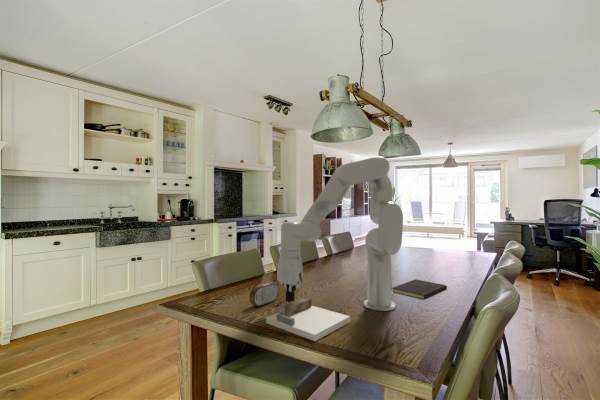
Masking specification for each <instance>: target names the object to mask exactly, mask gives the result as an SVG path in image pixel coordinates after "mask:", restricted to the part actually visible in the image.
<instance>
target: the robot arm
mask: <svg viewBox="0 0 600 400" xmlns="http://www.w3.org/2000/svg"><path fill="white" fill-rule="evenodd" d="M389 172H390V163H389V161H388V159H387V158H385V157H384V156H379V155H377V156H372V157H369V158H364V159H362V160H357V161H352V162H347V163H345V164H341V165H339V166H338V167H337V168H336V169H335V170H334V172H333V173H332V175H331V177H330V178H329V180H327V183H326V184H325V186H324V188H323V189H322V191H321V192H320V193H319V195H318V196H317V198H316V199H315V201H314V202H313V204H312V205H311V206H310V208H309V209H308V210H307V212H306V213H305V214H304V216H303V218H302V219H301V221H300V222H297V221H285V222H282V223H281V225H280V250H279V252H280V256H279V258H278V261H277V270H276V271H277V272H276V279H277V281H278V282H279V284H281V285H282V286H283V288H284V291H285V302H288V303H292V302H294V301H295V292H296V290H297V289H301V288H302V287H303V285H302V283H303V281H304V278H303V277H304V272H303V271H304V270H303V261H302V258H301V241H305V242H316V241H317V240H318V239H320V238H321V236H322V228H321V223H322V222H323V220H324V219H325V218H326V217H327V216H328V215H329V214H331V212H333V211H335V210H336V209H337V208H338V207H339V206H340V203H341V202H342V200H343V199H344V197H345V196H346V194H347V192H348V191H349V190H350V187H351V186H355V185H358V184H364V183H368V185H369V187H370V203H369V204H370V206H369V217H370V220H371V222H372V223H374V224H376V225H377V226H378V227H375V228H372V229H370V230H369V231H368V232H367V234H366V236H365V250H366V258H367V261H366V262H367V263H366V264H367V268H366V269H367V272H366V273H367V276H366V277H367V279H366V280H367V299H365V300H364V301H363V306H364V307H365V308H367V309H369V310H373V311H376V312H377V311H378V312H388V311H393V310H394V309H396V305H397V304H396V302H394V301H393V300H392V298H393V297H395V292H393V291H392V290H393V289H392V288H393V287H392V279H393V278H392V257H391V256H393V255H395V254H397V253H398V252H399V250H400V249H401V247H402V243H403V229H404V213H403V210H402V208H401V207H400V205H399V204H397V203H396V202H393V185H392V182H391V179H390V177H389V176H388V174H389Z"/></svg>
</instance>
